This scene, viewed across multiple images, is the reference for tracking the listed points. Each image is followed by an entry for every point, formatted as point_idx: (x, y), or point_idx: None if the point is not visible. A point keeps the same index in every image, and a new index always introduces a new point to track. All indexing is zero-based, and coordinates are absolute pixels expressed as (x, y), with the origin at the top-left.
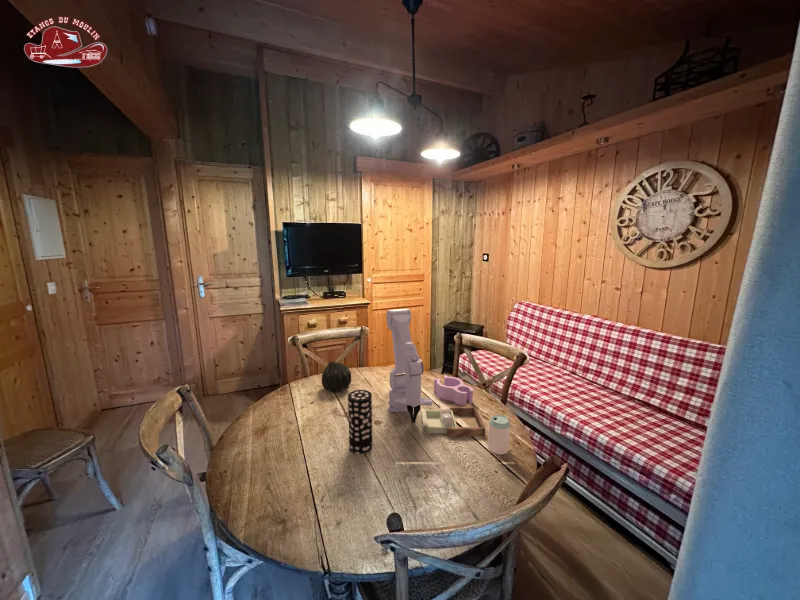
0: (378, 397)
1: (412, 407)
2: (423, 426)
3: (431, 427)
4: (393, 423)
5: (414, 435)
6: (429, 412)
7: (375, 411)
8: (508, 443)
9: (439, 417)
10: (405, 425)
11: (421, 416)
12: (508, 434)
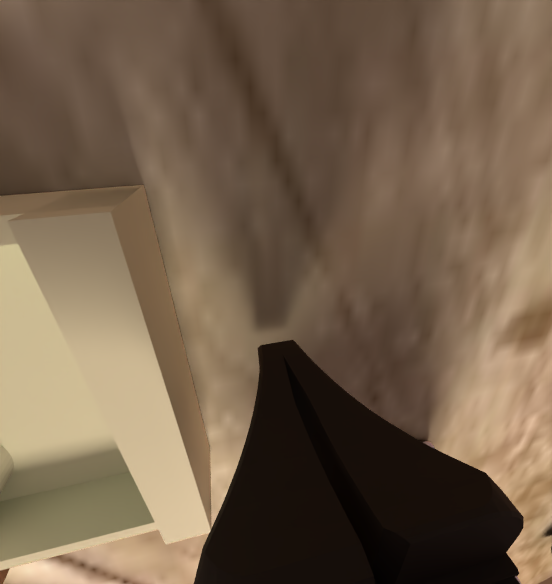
0: None
1: (394, 582)
2: (109, 207)
3: None
4: (429, 332)
5: (252, 156)
6: (124, 509)
7: (503, 425)
8: None
9: (24, 479)
10: (339, 323)
11: (199, 446)
12: None
